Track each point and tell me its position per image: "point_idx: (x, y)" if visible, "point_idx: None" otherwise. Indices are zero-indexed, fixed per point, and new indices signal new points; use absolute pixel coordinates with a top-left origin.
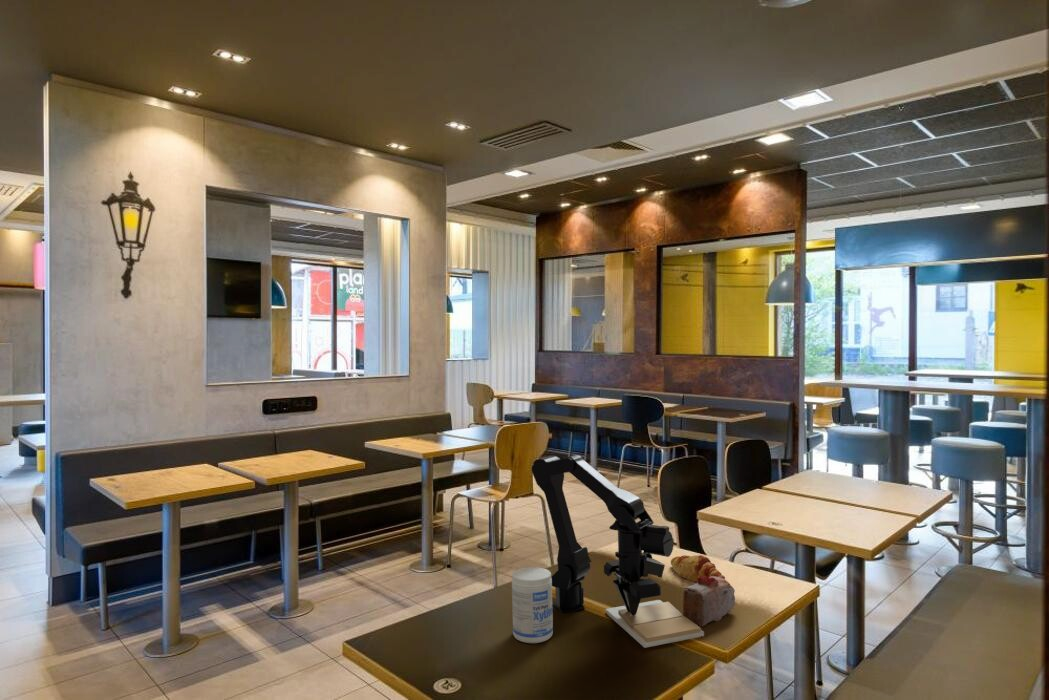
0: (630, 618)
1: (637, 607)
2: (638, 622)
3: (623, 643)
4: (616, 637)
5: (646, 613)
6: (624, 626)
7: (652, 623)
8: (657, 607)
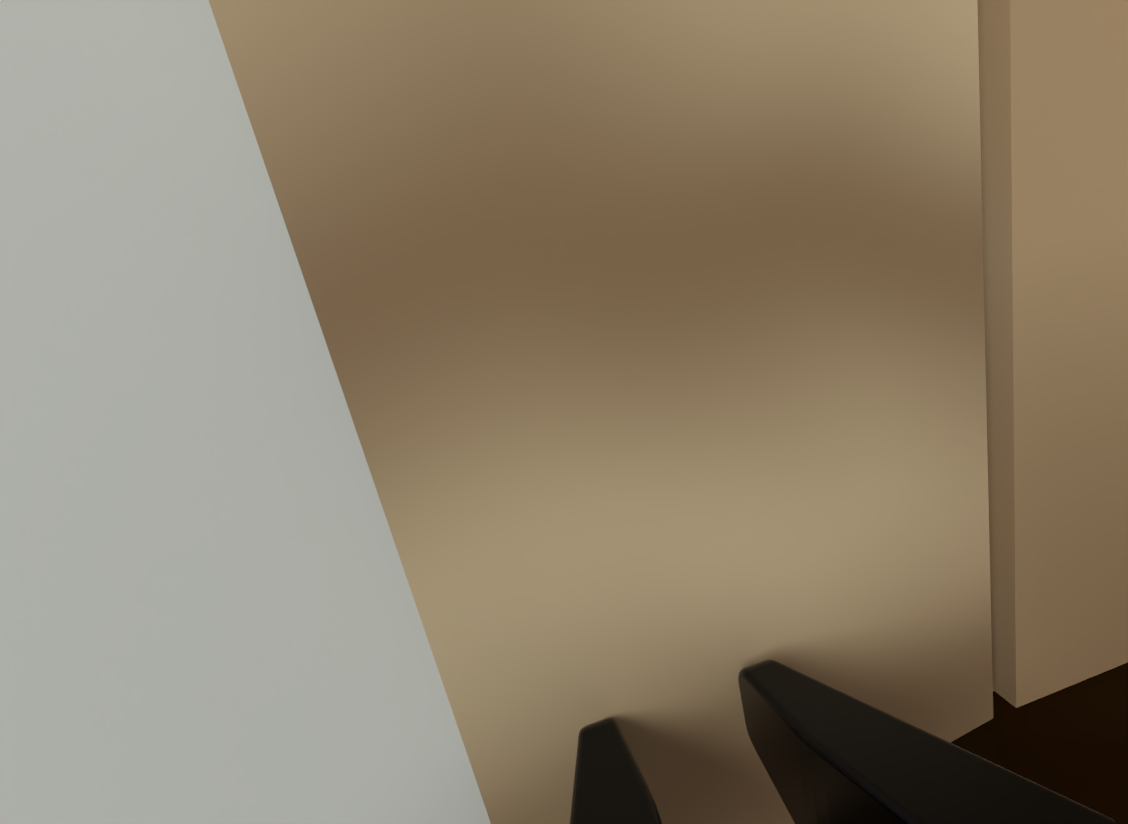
0: None
1: (928, 748)
2: (958, 613)
3: (1066, 744)
4: None
5: (726, 419)
6: None
7: (1055, 378)
8: (459, 7)
